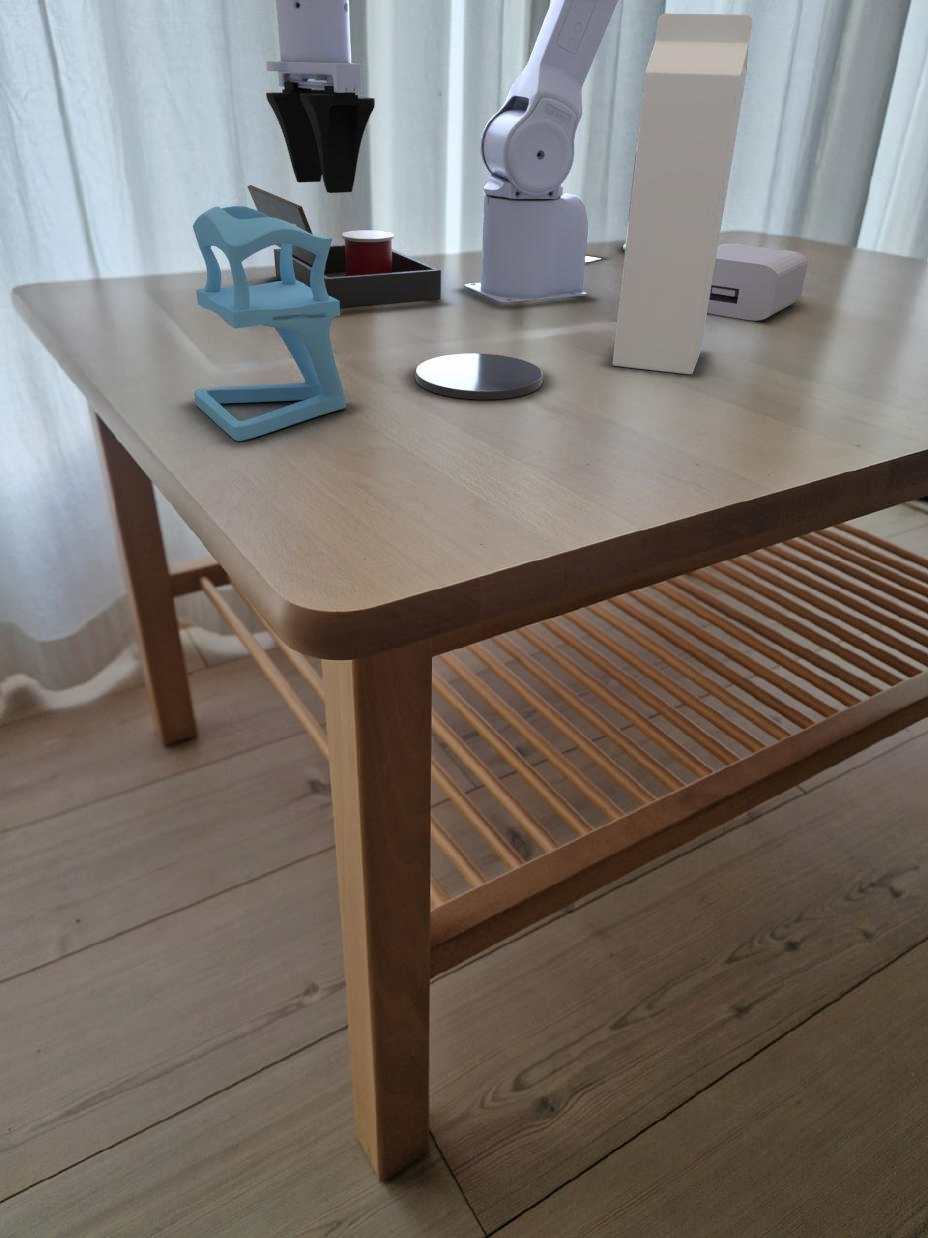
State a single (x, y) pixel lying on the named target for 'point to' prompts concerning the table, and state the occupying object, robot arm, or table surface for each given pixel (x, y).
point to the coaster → (479, 376)
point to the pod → (368, 252)
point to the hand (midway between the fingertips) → (323, 186)
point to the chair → (270, 317)
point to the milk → (680, 188)
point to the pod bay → (372, 280)
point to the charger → (755, 281)
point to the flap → (283, 216)
